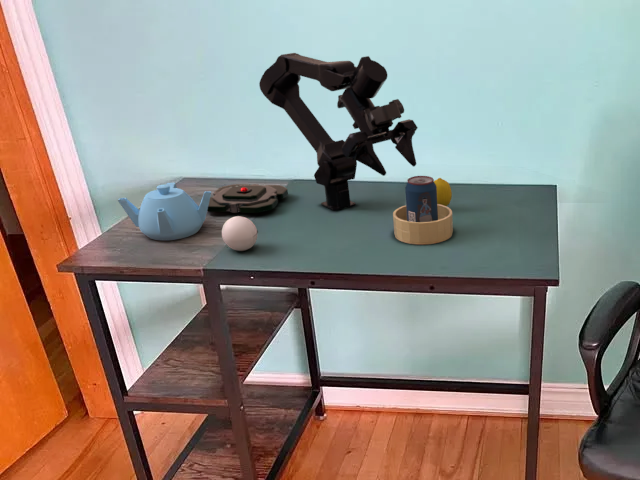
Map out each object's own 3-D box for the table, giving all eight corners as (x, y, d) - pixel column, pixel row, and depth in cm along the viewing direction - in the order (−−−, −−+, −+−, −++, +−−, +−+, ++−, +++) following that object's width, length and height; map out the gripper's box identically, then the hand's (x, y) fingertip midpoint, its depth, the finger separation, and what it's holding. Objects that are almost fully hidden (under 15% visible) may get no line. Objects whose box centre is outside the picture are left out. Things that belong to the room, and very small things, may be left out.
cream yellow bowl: (383, 233, 163) (381, 212, 161) (428, 219, 171) (427, 199, 168) (418, 249, 155) (416, 227, 152) (464, 234, 162) (464, 213, 160)
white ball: (255, 256, 152) (249, 223, 149) (220, 256, 152) (213, 223, 149) (267, 238, 161) (262, 207, 157) (235, 238, 161) (228, 207, 157)
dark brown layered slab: (226, 193, 189) (223, 175, 187) (292, 194, 188) (290, 177, 185) (197, 216, 174) (193, 197, 172) (269, 218, 172) (266, 199, 170)
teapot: (223, 227, 167) (214, 182, 162) (168, 248, 156) (156, 200, 151) (180, 216, 174) (170, 172, 169) (125, 235, 163) (112, 189, 158)
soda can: (422, 223, 167) (419, 173, 161) (444, 230, 163) (442, 178, 157) (401, 232, 162) (398, 180, 156) (423, 239, 159) (421, 186, 152)
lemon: (453, 206, 179) (452, 174, 175) (450, 214, 174) (449, 181, 170) (431, 205, 179) (430, 174, 175) (427, 213, 175) (426, 181, 170)
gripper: (344, 94, 148) (384, 157, 147) (409, 81, 160) (446, 140, 159) (325, 127, 156) (362, 187, 156) (388, 113, 168) (423, 168, 168)
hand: (400, 169), depth 160 cm, fingers open, 9 cm apart
